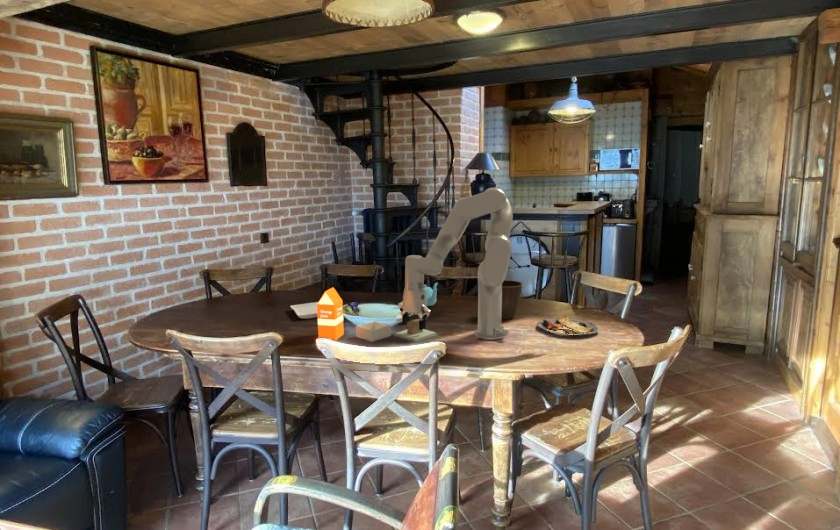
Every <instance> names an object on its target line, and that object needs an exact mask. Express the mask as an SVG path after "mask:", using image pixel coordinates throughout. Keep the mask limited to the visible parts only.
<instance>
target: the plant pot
mask: <svg viewBox="0 0 840 530" xmlns="http://www.w3.org/2000/svg"><path fill="white" fill-rule="evenodd" d="M522 291H523V283H522V282H520V281H517V280H507V279H505V280H504V281H503V283H502V313H501V320H510V319H511V318H512V319H513V318H515V315H516V313H517V309H518V306H519V305H520V304H519V303H520V300H521V295H522ZM512 319H511V320H512Z"/></svg>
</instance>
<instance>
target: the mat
mask: <svg viewBox="0 0 840 530" xmlns="http://www.w3.org/2000/svg"><path fill="white" fill-rule="evenodd" d="M436 336H439V334H437V333H436V335H434V336H431V337H428V338H425V339H422V340H418V341H412V340H409V339H405V338H402V337H399V336H395V333H394V334H391V337H395V338H398V339H402V340H405V341H409V342H412V343H419V342H421V341H425V340H428V339H431V338H434V337H436Z"/></svg>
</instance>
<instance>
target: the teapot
mask: <svg viewBox="0 0 840 530" xmlns="http://www.w3.org/2000/svg"><path fill="white" fill-rule="evenodd" d="M438 284H439V283H438V282H435V283H434V285H433V287H430V286H427V284H424V286H425V287H424V290H425V293H426V300H427V307H431V306H434V305H435V304H436V303H437V293H438V292H437V291H438V288H437V286H438Z"/></svg>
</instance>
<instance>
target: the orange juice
mask: <svg viewBox="0 0 840 530" xmlns="http://www.w3.org/2000/svg"><path fill="white" fill-rule="evenodd" d="M317 302H318V304H317V314H318V318H317V330H318V331H317V332H318V333H317V334H318V339H319V338H320V337H324V338H330V339H333V340H332V341H337V340H338V339H339V338H341V337H342V336H343V335H344V334H345V333H344V332H345V331H344V305H343V299H342V297H340V295H339V293H338V292H337V290H336V289H335V288H334V287H331V288H328V289H327V290H325V291H324V293H323V294H322V296H321V298H320V299H319V301H317Z"/></svg>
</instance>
